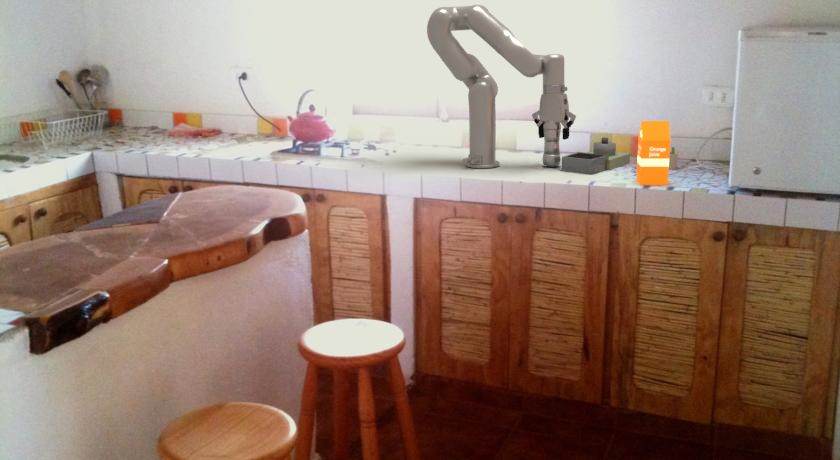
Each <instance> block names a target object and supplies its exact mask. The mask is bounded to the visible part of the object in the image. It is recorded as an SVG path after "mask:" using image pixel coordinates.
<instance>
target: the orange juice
mask: <svg viewBox="0 0 840 460" xmlns="http://www.w3.org/2000/svg"><path fill="white" fill-rule="evenodd" d="M670 132H671V131H670V120H655V121H654V120H641V123H640V127H639V132H638V140H637V142H638V143H637V156H636V157H637V159H636V177H635V179H636V181H637V182H638V184H639V185H640V186H668V183H669V170H670V169H669V155H670V151H671V150H670V149H671V133H670Z"/></svg>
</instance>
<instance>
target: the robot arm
mask: <svg viewBox="0 0 840 460" xmlns="http://www.w3.org/2000/svg"><path fill="white" fill-rule="evenodd" d="M469 30H471V31H472V32H473V33H475V34H476V35H477V36H478V37H479V38H481V39H482V40H483V41H484V43H487V45H489V46H490V47H491V48H492V49H493V50H494V51H495V52H496V53H497V54H499V56H501V57H503V59H504V60H505V61H507V63H509V65H511V66H512V67H513V68H514V69H515V70H517V71H518V72H519V73H520V74H522V75H523V76H524V77H526V78H535V77H537V76H538V75H542V93H541V95H540V100H539V101H540V102H539V106H538V107H539V109H538V110H537V111H535V112H534V113H532V114H531V116H532V119H533V122H534V123H535V124H536V127H537V128H538V130H537V131H538V132H537V135H538V138H539V139H542V138H543V139H544V131H543V125H544V123H545V122H546V121H547V120H552V121H553V122H556V123H560V124H561V126H562V127H563V128H562V140H568V139H570V128H571V127H572V125H574V123H575V120H576V117H577V115H576V114H574V113H572V112H570V106H569V98H568V94H567V93H565V92H566V91H568V87H567V86H566V85H565V57H564V55H563V54H560V53H557V54H556V53H555V54H554V53H553V54H534V53H532V52H531V51H529V50H528V49H527V48H526V47H525V46H524V45H523V44H521V42H520V41H519V40H518V38H516V37H515V35H514V33H513V32H512V31H511V30H510V29H509V28H508V27H507V26H506V25H504V24H503V23H502V22H501V21H500V20H499V19H497V18H496V17H495V16H494V15H493V14H492V13H491V12H490V11H489V9H488V8H487V7H486V6H484V5H481V4H473V5H467V6H466V5H465V6H463V5H462V6H441V7H438V8H436V9H435V10H433V12H432V13H431V14H430V16H429V19H428V21H427V25H426V34H427V38H428V42H429V44H430V45H431V48H432V49H433V50H434V52H436V55H438V56H439V58H440V60H441V61H442V62H443V63H444V65H445V66H446V67H447V69H448V70H449V71H450V73H451V74H452V75H453V77H454V78H455V79H456V80H458V81H460V82H463V84H464V85H465V86H466V88H467V89H468V94H467V96H468V97H467V99H468V109H469V110H468V114H469V115H468V117H469V119H468V123H469V124H468V125H469V126H468V128H469V154H468V157H466V158H463V159H462V163H463V164H464V165H465V167H468V168H473V169H492V168H497V167H500V163H501V162H500V161H498V160H496V142H497V141H496V140H497V139H496V134H497V133H496V131H497V130H496V115H497V114H496V112H497V111H496V97H497V96H498V92H499V87H498V84H497V81H495V79H494V78H493V76H492V75H491V74H490V73H489V72H488V69H486V68H485V66H484V65H483V64H482V63H481V61H480V60H479V59H478V58H477V56H475V55H473V54H471V53H468V52H467V51H466V50H465V49H464V48H463V46H462V45H461V44H460V42H459V40H457V38H456V37H455V36H454V35H453V31H469Z"/></svg>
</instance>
